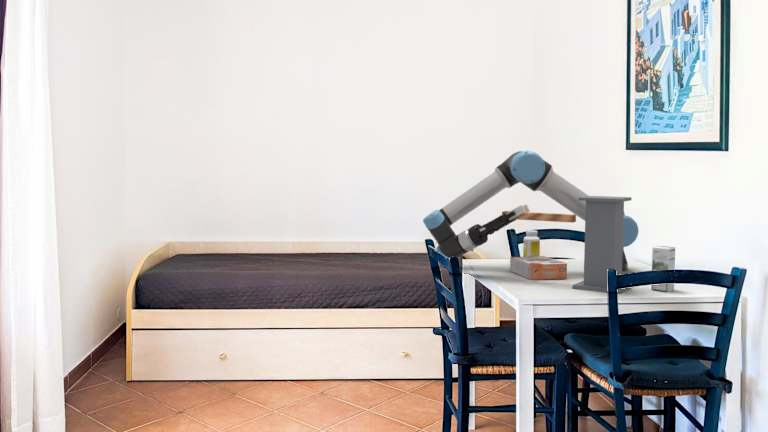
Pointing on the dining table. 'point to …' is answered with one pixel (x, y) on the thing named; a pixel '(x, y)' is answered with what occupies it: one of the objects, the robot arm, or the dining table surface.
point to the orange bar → (545, 217)
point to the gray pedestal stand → (602, 240)
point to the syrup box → (663, 264)
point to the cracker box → (538, 267)
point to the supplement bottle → (531, 244)
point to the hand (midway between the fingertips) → (525, 208)
